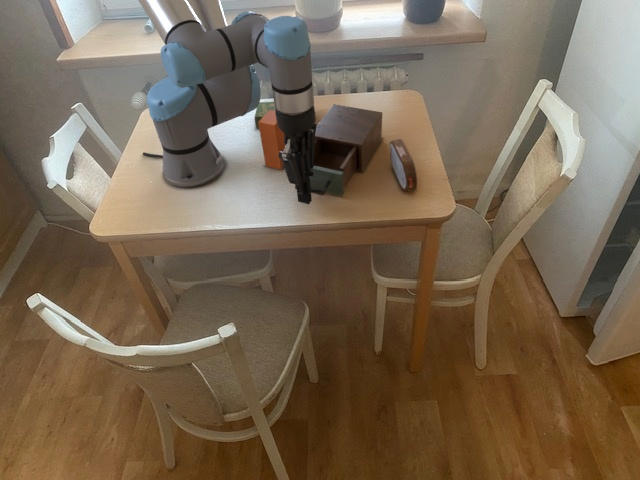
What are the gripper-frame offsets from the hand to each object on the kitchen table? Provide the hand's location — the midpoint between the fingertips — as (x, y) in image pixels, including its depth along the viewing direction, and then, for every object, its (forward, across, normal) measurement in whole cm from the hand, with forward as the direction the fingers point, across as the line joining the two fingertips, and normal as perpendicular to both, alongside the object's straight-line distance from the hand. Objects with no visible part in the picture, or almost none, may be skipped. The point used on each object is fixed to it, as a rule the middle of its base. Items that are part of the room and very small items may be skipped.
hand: (304, 200), depth 106 cm
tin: (+4, -19, +17) cm, 26 cm away
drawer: (+3, -12, 0) cm, 12 cm away
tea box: (+3, -16, -15) cm, 22 cm away
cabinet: (+3, -26, 0) cm, 26 cm away
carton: (+4, -34, -23) cm, 41 cm away
